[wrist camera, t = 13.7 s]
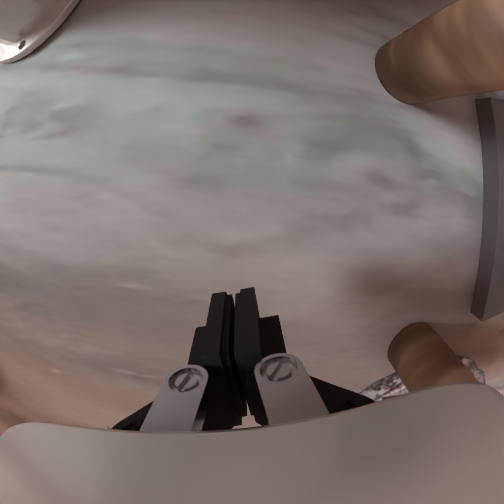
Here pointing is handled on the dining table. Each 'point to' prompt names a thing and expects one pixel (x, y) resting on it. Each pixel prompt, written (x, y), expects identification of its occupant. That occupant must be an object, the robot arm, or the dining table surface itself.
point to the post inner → (446, 54)
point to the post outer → (425, 359)
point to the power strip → (491, 212)
